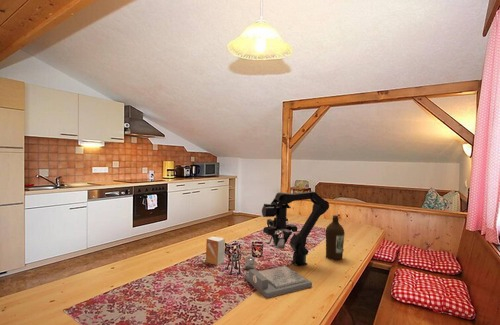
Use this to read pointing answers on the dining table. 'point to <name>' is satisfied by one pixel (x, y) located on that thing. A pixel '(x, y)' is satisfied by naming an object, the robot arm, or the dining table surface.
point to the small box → (215, 250)
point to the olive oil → (334, 240)
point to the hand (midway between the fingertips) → (279, 245)
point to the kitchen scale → (277, 281)
